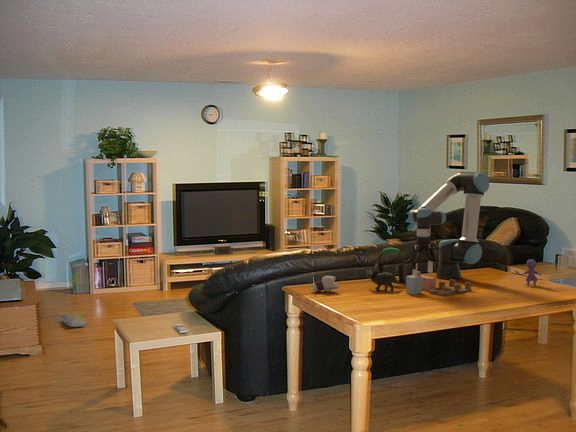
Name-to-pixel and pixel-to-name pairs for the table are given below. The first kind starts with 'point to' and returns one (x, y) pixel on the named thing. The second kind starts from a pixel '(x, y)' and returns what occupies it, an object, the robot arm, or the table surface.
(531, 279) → the toy
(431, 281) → the pink slab with ridge
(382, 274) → the dinosaur figurine
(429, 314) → the table surface
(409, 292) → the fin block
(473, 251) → the robot arm
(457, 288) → the jig
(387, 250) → the headphones
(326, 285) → the toy
